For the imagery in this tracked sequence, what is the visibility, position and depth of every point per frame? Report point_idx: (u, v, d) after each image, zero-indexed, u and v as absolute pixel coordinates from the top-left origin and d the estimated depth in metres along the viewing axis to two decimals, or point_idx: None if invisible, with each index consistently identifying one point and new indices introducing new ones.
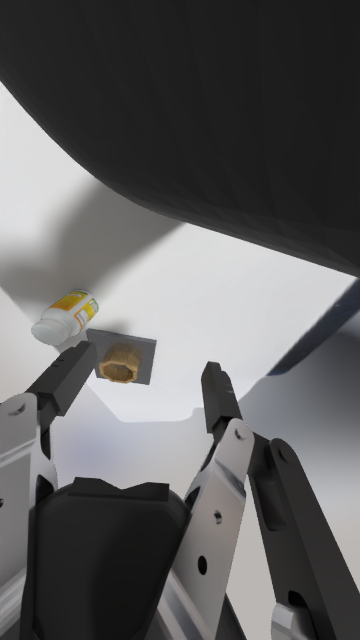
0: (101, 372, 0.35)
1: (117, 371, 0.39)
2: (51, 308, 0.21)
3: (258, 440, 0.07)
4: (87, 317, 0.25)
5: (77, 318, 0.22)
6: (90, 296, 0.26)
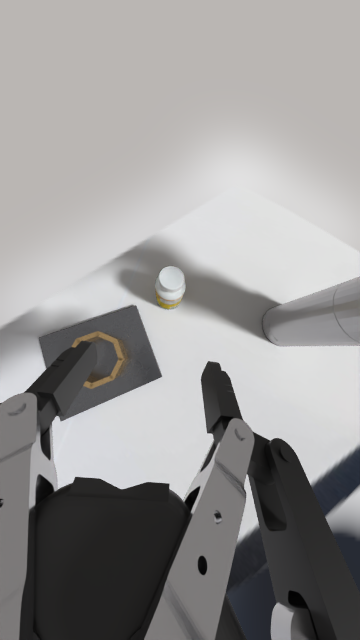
0: (82, 338, 0.25)
1: None
2: None
3: (258, 440, 0.07)
4: (175, 303, 0.27)
5: (181, 296, 0.26)
6: None
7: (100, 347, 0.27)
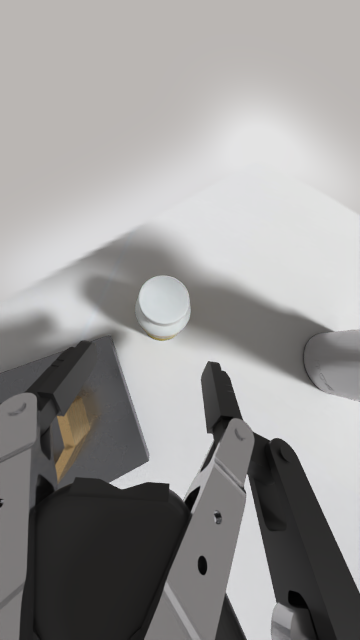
0: None
1: None
2: None
3: (258, 440, 0.07)
4: (173, 336, 0.16)
5: None
6: None
7: None
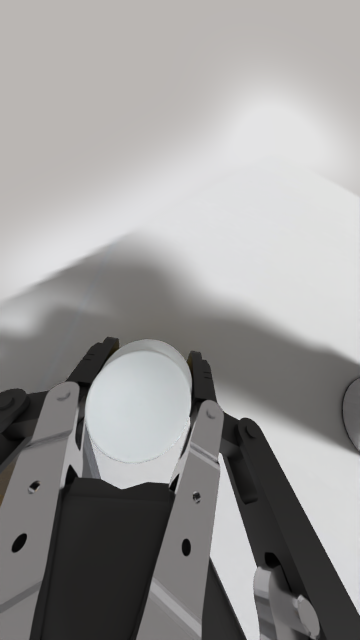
0: None
1: None
2: (181, 355, 0.09)
3: (229, 420, 0.08)
4: None
5: None
6: None
7: None
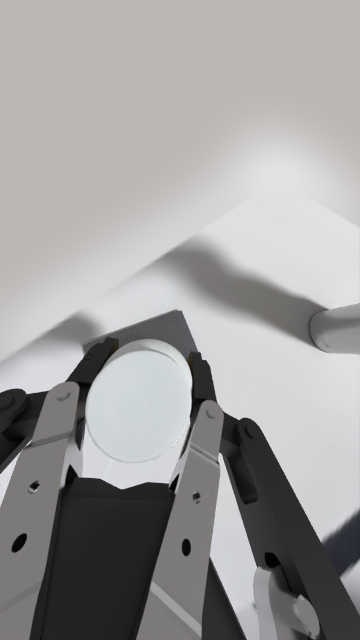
0: None
1: None
2: (181, 355, 0.09)
3: (229, 420, 0.08)
4: None
5: None
6: None
7: None
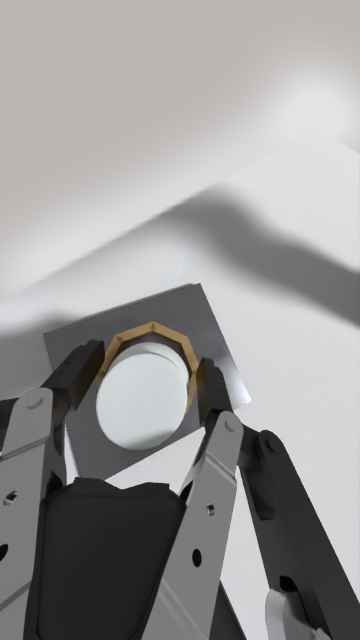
0: (127, 334, 0.13)
1: None
2: (179, 357, 0.10)
3: (248, 432, 0.07)
4: None
5: None
6: None
7: None
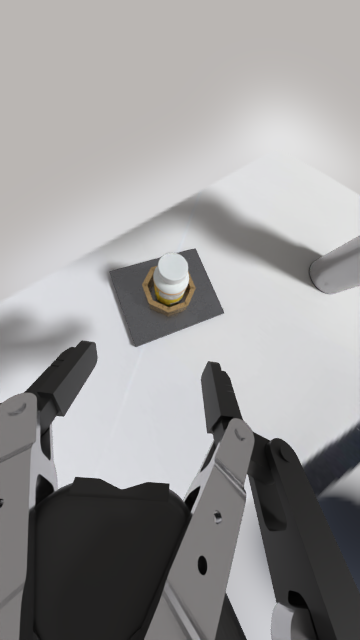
0: None
1: None
2: None
3: (258, 440, 0.07)
4: (177, 298, 0.24)
5: (184, 289, 0.22)
6: None
7: None
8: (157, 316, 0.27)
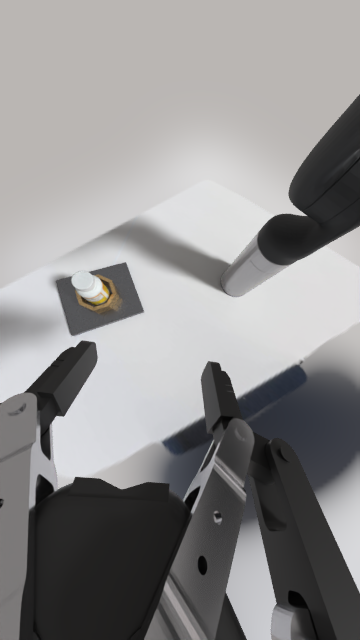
0: None
1: None
2: None
3: (258, 440, 0.07)
4: (97, 300, 0.34)
5: (98, 294, 0.32)
6: None
7: None
8: (90, 313, 0.37)
